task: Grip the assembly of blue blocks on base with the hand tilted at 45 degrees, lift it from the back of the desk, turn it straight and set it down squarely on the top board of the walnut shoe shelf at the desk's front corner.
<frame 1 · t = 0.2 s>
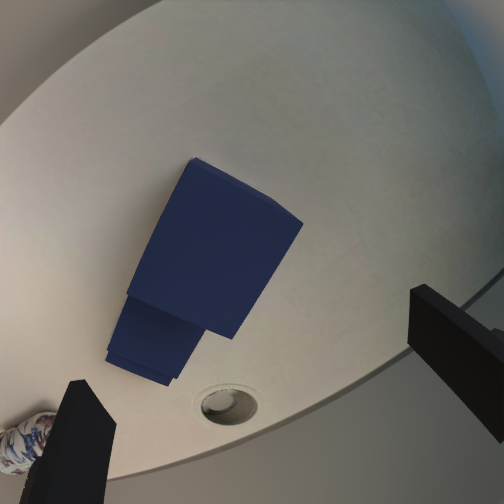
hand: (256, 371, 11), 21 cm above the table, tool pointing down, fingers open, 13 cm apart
blue blocks on base: (179, 272, 31), on the table
pencil case: (35, 428, 36), on the table
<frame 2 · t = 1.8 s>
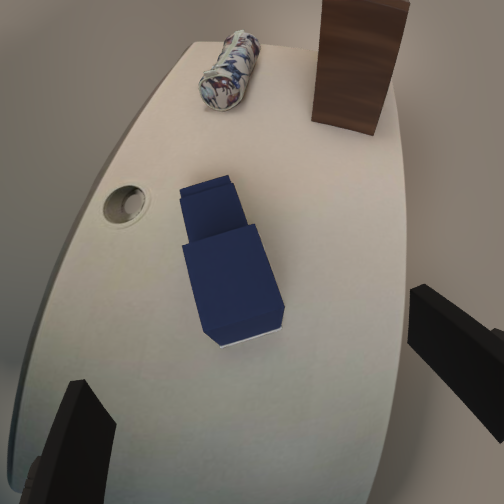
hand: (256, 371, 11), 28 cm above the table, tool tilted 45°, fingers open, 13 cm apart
blue blocks on base: (227, 262, 42), on the table
pencil case: (234, 83, 60), on the table
shelf: (347, 91, 57), on the table
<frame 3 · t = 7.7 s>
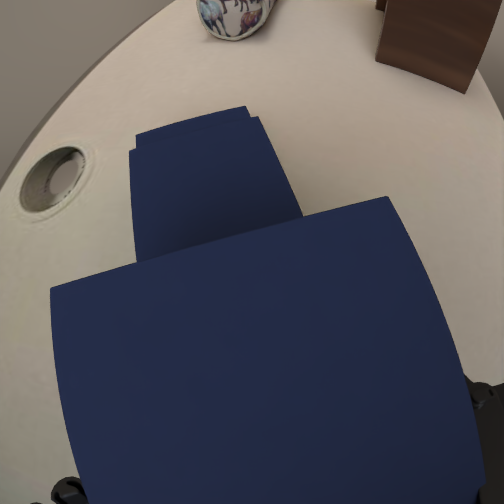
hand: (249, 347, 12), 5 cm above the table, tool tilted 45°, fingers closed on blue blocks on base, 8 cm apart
blue blocks on base: (239, 306, 18), on the table, touching gripper
pencil case: (251, 16, 35), on the table
shelf: (413, 38, 33), on the table
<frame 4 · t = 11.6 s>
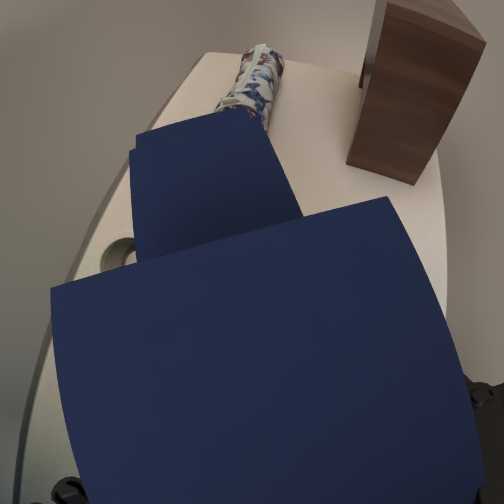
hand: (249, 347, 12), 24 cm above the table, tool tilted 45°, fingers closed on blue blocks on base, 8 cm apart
blue blocks on base: (239, 306, 18), point 20 cm above the table, touching gripper
pencil case: (254, 108, 53), on the table
shelf: (384, 125, 51), on the table
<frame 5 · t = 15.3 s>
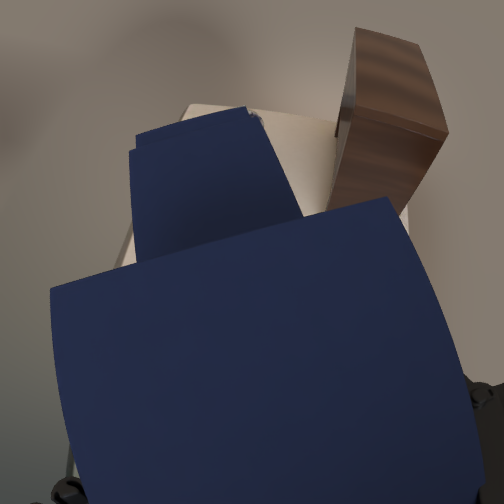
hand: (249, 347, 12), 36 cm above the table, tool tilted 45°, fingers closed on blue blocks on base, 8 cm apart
blue blocks on base: (239, 306, 18), point 32 cm above the table, touching gripper
shelf: (357, 179, 60), on the table
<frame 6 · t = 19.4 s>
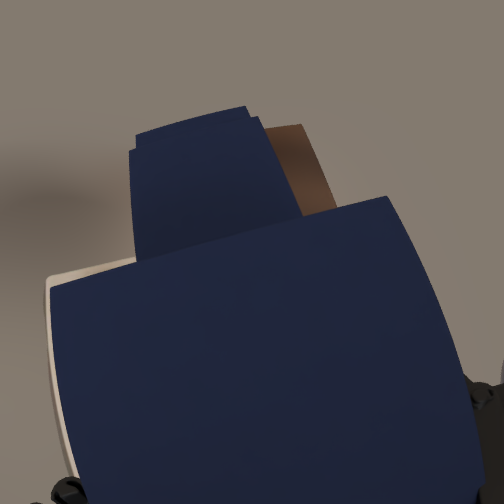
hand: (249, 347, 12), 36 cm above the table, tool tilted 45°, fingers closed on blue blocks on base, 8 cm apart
blue blocks on base: (238, 305, 18), point 32 cm above the table, touching gripper
shelf: (269, 324, 49), on the table
when the fingers open (33 cm above the table, at t = 22.7 s): blue blocks on base stays where it is, resting on shelf.
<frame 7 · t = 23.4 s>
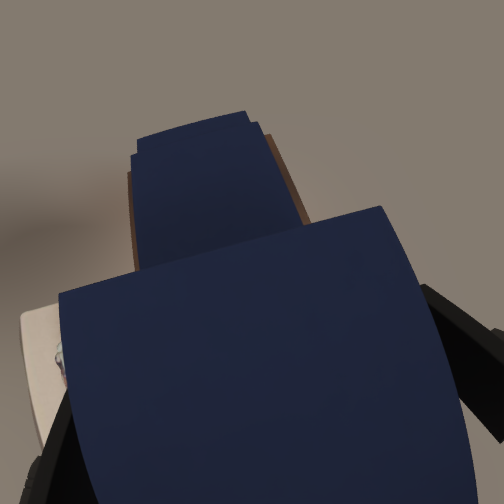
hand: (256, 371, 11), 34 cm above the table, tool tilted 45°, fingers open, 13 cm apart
blue blocks on base: (238, 308, 18), point 28 cm above the table, touching shelf
shelf: (255, 356, 43), on the table
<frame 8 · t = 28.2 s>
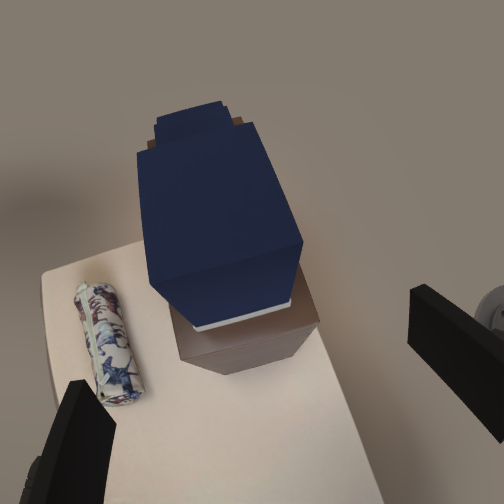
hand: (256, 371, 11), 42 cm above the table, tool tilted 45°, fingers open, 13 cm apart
blue blocks on base: (214, 211, 30), point 28 cm above the table, touching shelf
pencil case: (118, 348, 52), on the table
shelf: (238, 296, 55), on the table
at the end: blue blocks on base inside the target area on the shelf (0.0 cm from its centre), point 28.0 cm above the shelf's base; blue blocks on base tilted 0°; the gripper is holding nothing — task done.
